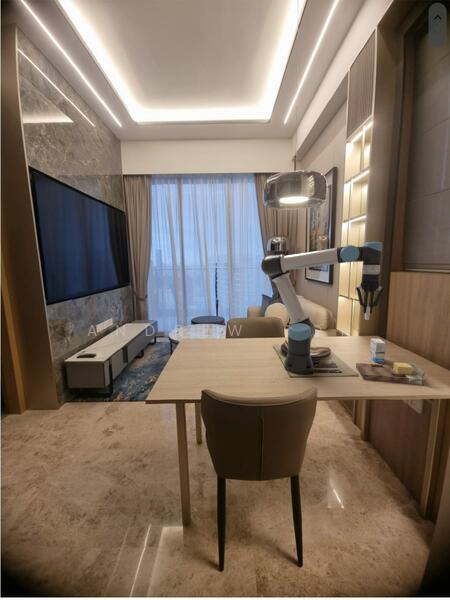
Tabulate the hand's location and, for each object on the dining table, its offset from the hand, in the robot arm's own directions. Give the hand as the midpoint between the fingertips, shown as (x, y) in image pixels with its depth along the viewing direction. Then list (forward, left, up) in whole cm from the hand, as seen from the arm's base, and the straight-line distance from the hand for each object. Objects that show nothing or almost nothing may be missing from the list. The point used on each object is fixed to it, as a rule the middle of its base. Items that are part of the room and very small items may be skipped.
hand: (366, 319), depth 127 cm
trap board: (+9, -6, -27) cm, 29 cm away
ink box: (+10, +14, -27) cm, 32 cm away
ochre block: (+16, -6, -24) cm, 30 cm away
